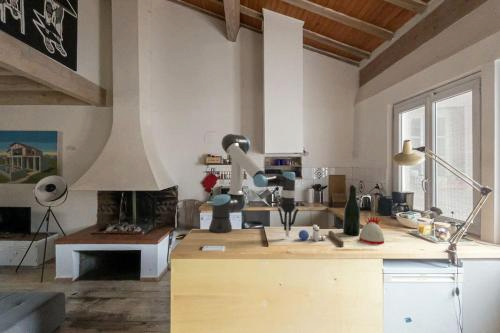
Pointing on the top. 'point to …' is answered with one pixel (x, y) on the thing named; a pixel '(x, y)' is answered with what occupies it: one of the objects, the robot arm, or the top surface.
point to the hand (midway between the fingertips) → (287, 235)
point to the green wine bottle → (352, 214)
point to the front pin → (319, 237)
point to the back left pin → (314, 229)
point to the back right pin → (316, 234)
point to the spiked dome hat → (372, 232)
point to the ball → (303, 235)
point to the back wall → (336, 238)
